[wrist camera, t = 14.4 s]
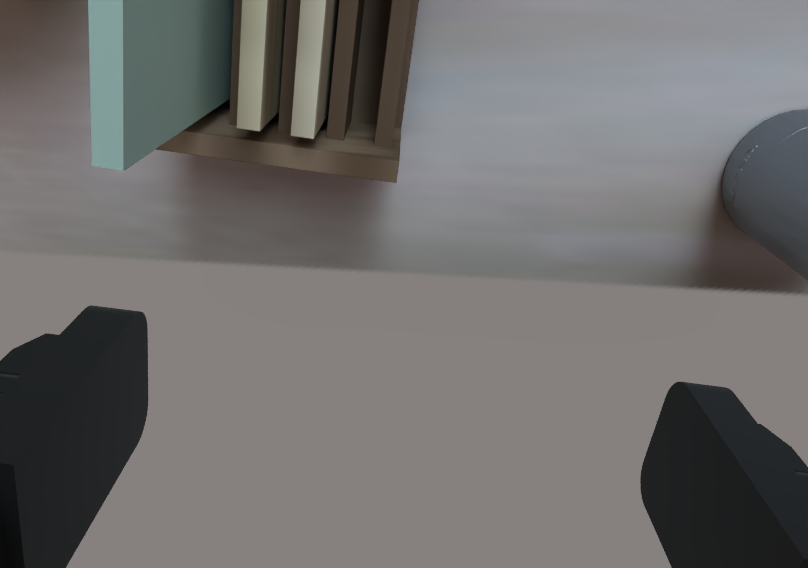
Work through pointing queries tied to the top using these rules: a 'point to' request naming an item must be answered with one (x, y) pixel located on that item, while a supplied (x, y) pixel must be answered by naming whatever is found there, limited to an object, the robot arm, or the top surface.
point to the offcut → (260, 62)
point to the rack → (349, 101)
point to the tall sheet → (154, 72)
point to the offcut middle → (314, 66)
